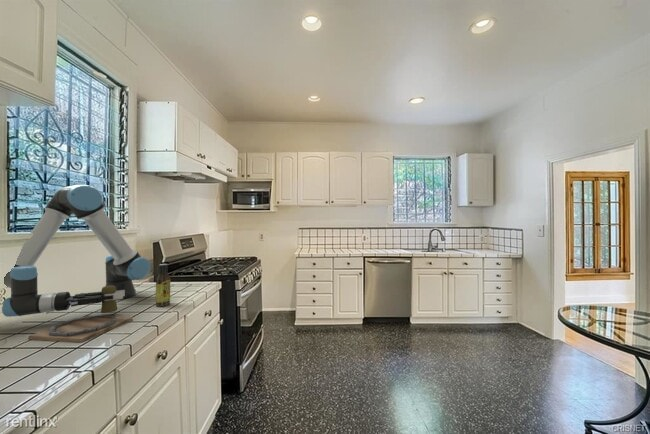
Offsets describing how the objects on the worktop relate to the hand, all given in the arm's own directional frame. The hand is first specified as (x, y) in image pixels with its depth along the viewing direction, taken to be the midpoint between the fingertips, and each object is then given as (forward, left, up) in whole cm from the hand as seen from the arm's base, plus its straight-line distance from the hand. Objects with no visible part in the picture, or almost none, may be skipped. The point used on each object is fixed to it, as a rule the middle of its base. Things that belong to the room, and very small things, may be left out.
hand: (123, 294), depth 133 cm
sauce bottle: (-13, +10, -9) cm, 18 cm away
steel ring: (+19, +1, -7) cm, 20 cm away
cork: (+3, -4, -7) cm, 9 cm away
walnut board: (+19, +1, -8) cm, 21 cm away
